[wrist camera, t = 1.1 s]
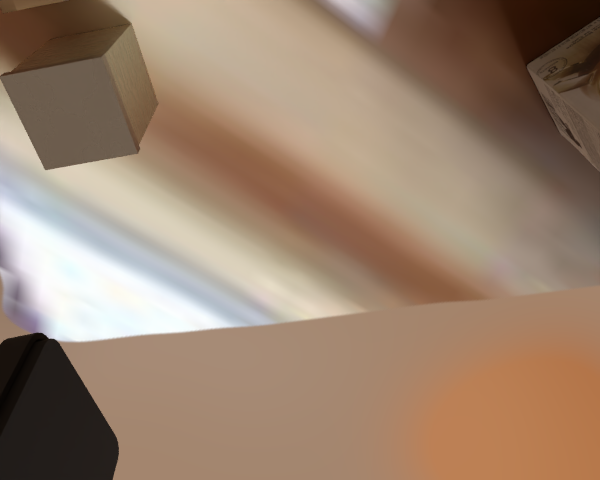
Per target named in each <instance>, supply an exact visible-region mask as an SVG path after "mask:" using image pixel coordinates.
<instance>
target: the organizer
mask: <svg viewBox="0 0 600 480" xmlns="http://www.w3.org/2000/svg"><path fill="white" fill-rule="evenodd" d="M62 1H67V0H0V8H1V10H2V12H3V13H8V12H13V11H18V10H23V9H28V8H33V7H38V6H42V5H47V4H52V3H57V2H62Z"/></svg>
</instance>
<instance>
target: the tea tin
mask: <svg viewBox="0 0 600 480" xmlns="http://www.w3.org/2000/svg"><path fill="white" fill-rule="evenodd" d="M0 79H1V81H2V83H3V85H4V87H5V89H6V91H7V93H8V95H9V97H10V99H11V101H12V103H13V105H14V107H15V109H16V111H17V114H18V116H19V118H20V120H21V122H22V124H23V126H24V128H25V130H26V132H27V134H28V136H29V138H30V140H31V142H32V144H33V146H34V148H35V150H36V152H37V154H38V156H39V158H40V160H41V162H42V164H43V166H44V168H45V170H49V169H54V168H60V167H66V166H71V165H77V164H82V163H88V162H93V161H99V160H105V159H110V158H116V157H121V156H127V155H132V154H138V152H139V150H140V147H139V144H140V142H141V139H142V137H143V135H144V133H145V131H146V129H147V127H148V125H149V123H150V121H151V118H152V116H153V114H154V112H155V110H156V108H157V106H158V101H157V98H156V95H155V92H154V89H153V86H152V83H151V80H150V77H149V74H148V71H147V68H146V65H145V62H144V59H143V56H142V53H141V50H140V47H139V44H138V41H137V38H136V35H135V32H134V29H133V26H132V23H131V24H126V25H121V26H116V27H111V28H106V29H101V30H96V31H90V32H85V33H80V34H75V35H70V36H65V37H60V38H55V39H50V40H49V41H48V42H47V43H45V44H44V45H43V46H42V47H41V48H39V49H38V50H37V51H36V52H34V53H33V54H32V55H31V56H29V57H28V58H27V59H26V60H24V61H23V62H22V63H21V64H19V65H18V66H17V67H16V68H15V69H13V70H12V71H11V72H6V73H4V74H2V75H1V76H0Z"/></svg>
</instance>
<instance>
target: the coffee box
mask: <svg viewBox="0 0 600 480" xmlns="http://www.w3.org/2000/svg"><path fill="white" fill-rule="evenodd" d="M527 69H528V71H529V73H530V75H531V77H532V79H533V81H534V83H535V85H536V87H537V89H538V91H539V93H540V95H541V97H542V99H543V101H544V103H545V105H546V107H547V109H548V111H549V113H550V115H551V117H552V118H553V120H554V122H555V124H556V126H557V128H558V130H559V132H560V134H561V135H563V136H564V137H565V138H566V139H567V140H569V141H570V142H571V143H572V144H573V145H574V146H575V147H576V148H577V149H578V150H579V151H580V152H581V153H582V154H583V155H584V156H585V157H586V158H587V159H588V160H589V161H590V162H591V164H592V165H593V166H594V167H595V168H596V169H597V170H599V171H600V17H599V18H598V19H596V20H595V21H593V22H592V23H590V24H588V25H587V26H585V27H584V28H582V29H581V30H579V31H578V32H576V33H575V34H573V35H572V36H570V37H569V38H567V39H566V40H564V41H563V42H561V43H560V44H558V45H556V46H555V47H553V48H552V49H550V50H549V51H547V52H546V53H544V54H543V55H541V56H540V57H538V58H537V59H535V60H534V61H532V62H531V63H529V64H528V65H527Z"/></svg>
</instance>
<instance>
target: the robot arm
mask: <svg viewBox="0 0 600 480" xmlns="http://www.w3.org/2000/svg"><path fill="white" fill-rule="evenodd" d="M118 455H119V447H118V441H117V438H116V436H115V434H114V432H113V431H112V429H111V428H110V426H109V424H108V423H107V421H106V420H105V418H104V416H103V414H102V413H101V411H100V410H99V408H98V406H97V405H96V403H95V402H94V400H93V398H92V396H91V395H90V393H89V392H88V390H87V388H86V387H85V385H84V383H83V382H82V380H81V378H80V377H79V375H78V374H77V372H76V370H75V369H74V367H73V365H72V364H71V362H70V360H69V359H68V357H67V356H66V354H65V352H64V351H63V349H62V347H61V346H60V344H59V343H58V342H57V341H56V340H55V339H49V338H48V337H47V336H46V335H44V334H43V333H33V334H28V335H24V336H18V337H14V338H8V339H6V340H4V341H3V342H2V343H1V344H0V480H113V475H114V471H115V468H116V464H117V460H118Z"/></svg>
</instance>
